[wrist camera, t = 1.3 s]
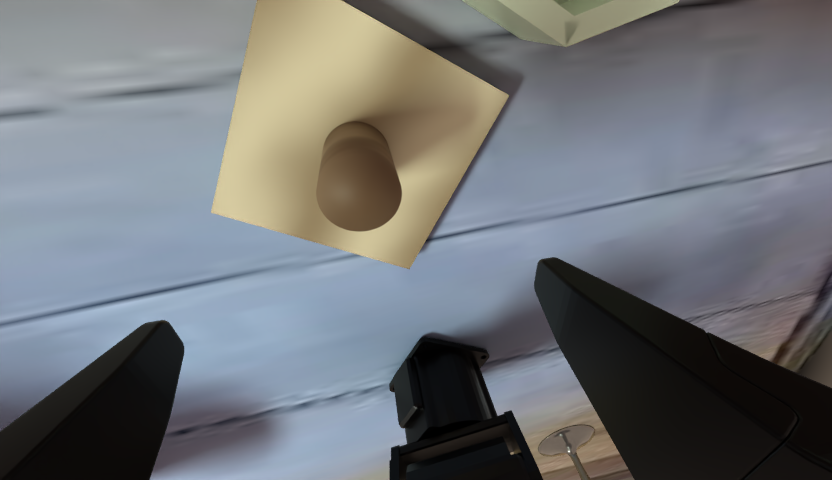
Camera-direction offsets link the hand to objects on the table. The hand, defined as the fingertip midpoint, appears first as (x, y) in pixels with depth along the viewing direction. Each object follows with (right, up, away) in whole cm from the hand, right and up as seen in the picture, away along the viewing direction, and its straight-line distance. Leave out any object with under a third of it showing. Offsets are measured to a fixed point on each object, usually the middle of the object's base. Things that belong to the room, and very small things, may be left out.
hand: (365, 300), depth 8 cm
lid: (-2, +6, +9) cm, 11 cm away
